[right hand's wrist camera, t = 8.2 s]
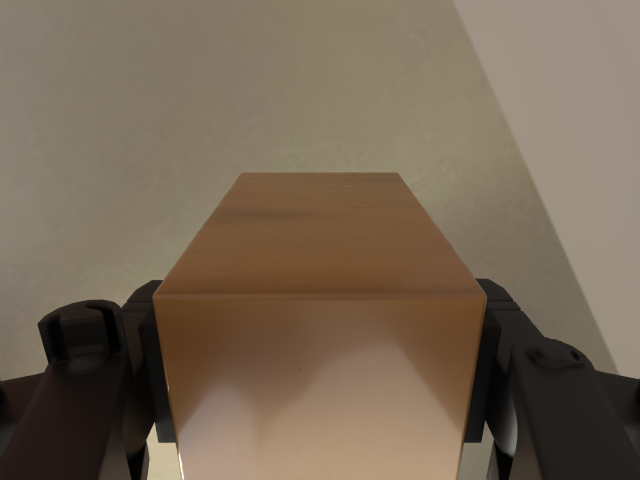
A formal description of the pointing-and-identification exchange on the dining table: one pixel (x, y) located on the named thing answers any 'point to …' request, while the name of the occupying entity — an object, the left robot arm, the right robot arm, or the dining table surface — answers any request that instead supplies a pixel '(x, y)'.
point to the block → (319, 335)
